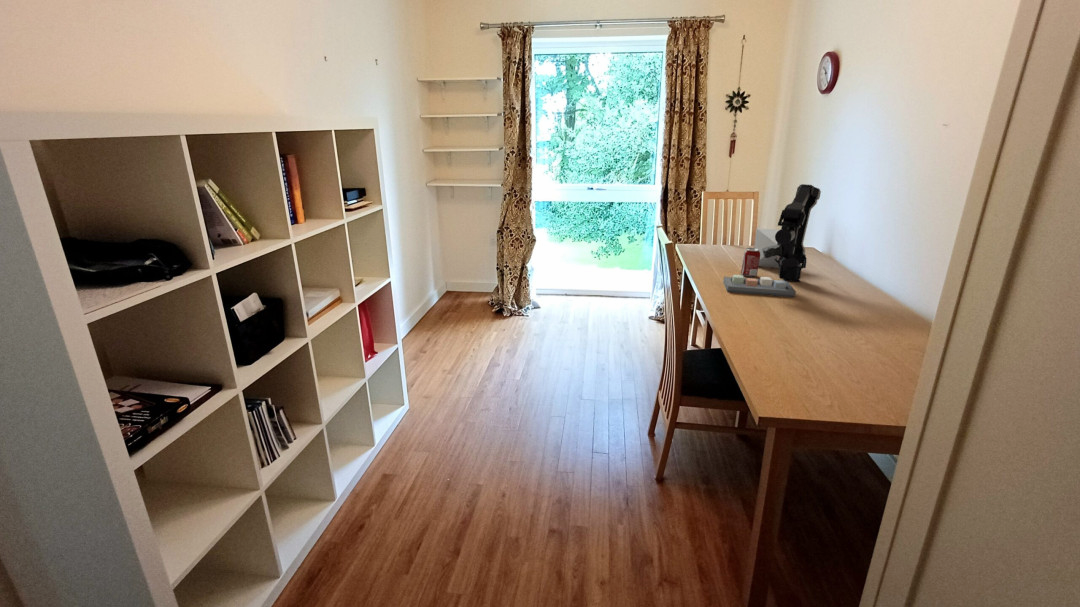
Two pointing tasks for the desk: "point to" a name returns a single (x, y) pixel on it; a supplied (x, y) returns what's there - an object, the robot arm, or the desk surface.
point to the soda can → (750, 262)
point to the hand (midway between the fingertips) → (780, 278)
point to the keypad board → (758, 288)
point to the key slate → (779, 284)
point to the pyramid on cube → (765, 240)
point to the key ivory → (766, 281)
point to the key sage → (738, 279)
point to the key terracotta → (751, 282)
